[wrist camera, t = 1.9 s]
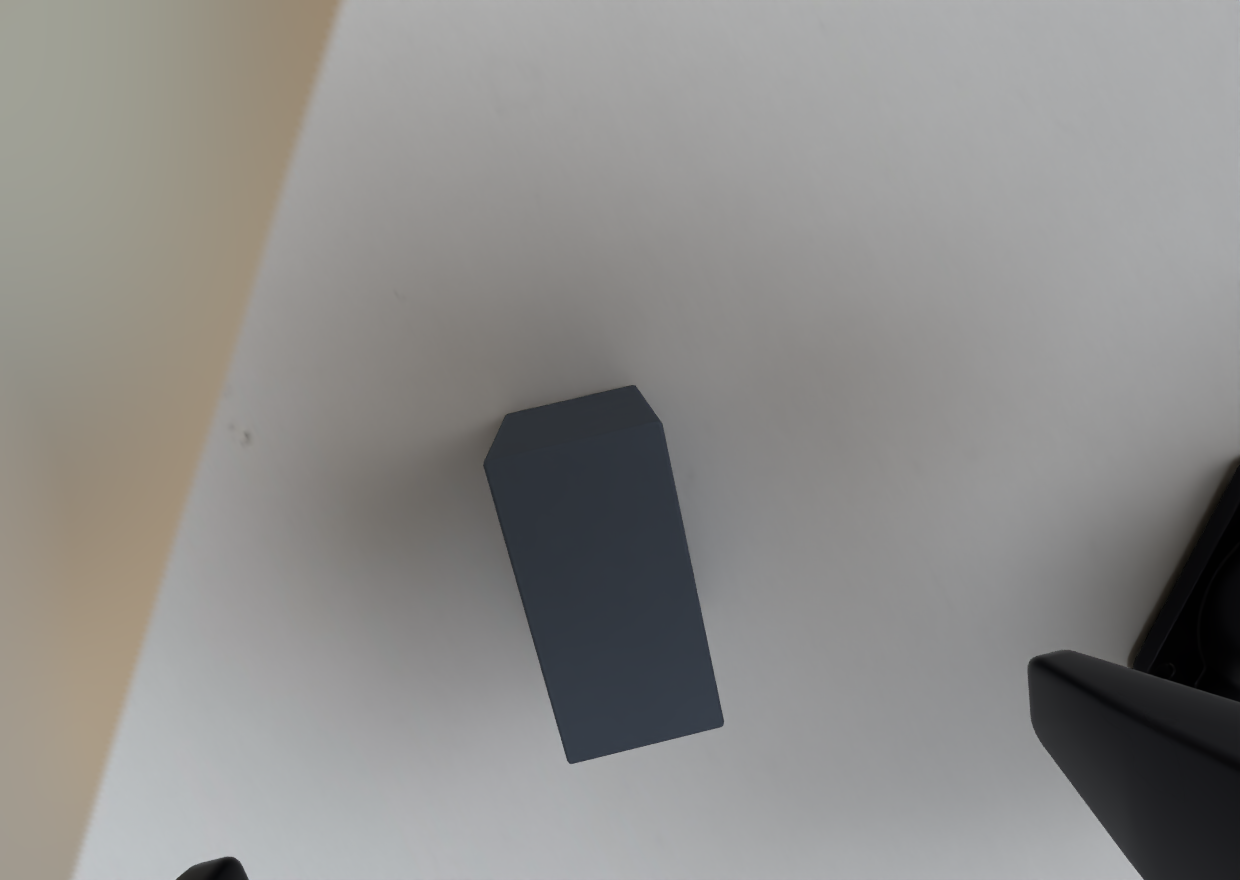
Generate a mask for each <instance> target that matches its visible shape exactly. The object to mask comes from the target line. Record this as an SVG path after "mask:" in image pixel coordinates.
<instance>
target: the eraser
mask: <svg viewBox="0 0 1240 880" xmlns="http://www.w3.org/2000/svg"><path fill="white" fill-rule="evenodd" d="M483 466H484V469H485V473H486V476H487V480H488V483H489V487H490V490H491V494H492V497H493V501H494V504H495V508H496V512H497V515H498V519H499V522H500V526H501V529H502V533H503V536H504V540H505V543H506V547H507V550H508V554H509V557H510V561H511V564H512V568H513V571H514V575H515V578H516V582H517V585H518V589H519V592H520V596H521V599H522V603H523V607H524V610H525V614H526V617H527V621H528V624H529V628H530V631H531V635H532V638H533V642H534V645H535V649H536V652H537V656H538V659H539V663H540V666H541V670H542V673H543V677H544V680H545V684H546V687H547V691H548V695H549V698H550V702H551V705H552V709H553V712H554V716H555V719H556V723H557V726H558V730H559V733H560V737H561V740H562V744H563V747H564V751H565V754H566V758H567V761H568V762H569V764H574V763H578V762H582V761H586V760H590V759H594V758H598V757H602V756H606V755H610V754H614V753H618V752H622V751H626V750H630V749H634V748H638V747H642V746H646V745H650V744H655V743H659V742H663V741H667V740H671V739H675V738H679V737H683V736H687V735H691V734H695V733H699V732H703V731H707V730H711V729H715V728H719V727H722V726H723V724H724V719H723V714H722V710H721V705H720V700H719V695H718V690H717V685H716V681H715V676H714V671H713V666H712V661H711V657H710V652H709V647H708V642H707V637H706V632H705V628H704V623H703V618H702V613H701V608H700V603H699V599H698V594H697V589H696V584H695V579H694V574H693V570H692V565H691V560H690V555H689V550H688V545H687V541H686V536H685V531H684V526H683V521H682V517H681V512H680V507H679V502H678V497H677V492H676V488H675V483H674V478H673V473H672V468H671V463H670V459H669V454H668V449H667V444H666V439H665V434H664V430H663V425H662V423H661V421H660V420H659V418H658V417H657V415H656V414H655V413H654V411H653V410H652V408H651V407H650V406H649V404H648V403H647V401H646V400H645V398H644V397H643V396H642V394H641V393H640V391H639V390H638V389H637V387H636V386H635V385H631V386H627V387H623V388H618V389H614V390H610V391H605V392H601V393H597V394H592V395H588V396H584V397H579V398H575V399H571V400H566V401H562V402H558V403H553V404H549V405H545V406H540V407H536V408H532V409H527V410H523V411H519V412H514V413H510V414H507V415H506V416H505V418H504V420H503V422H502V424H501V426H500V428H499V431H498V433H497V435H496V437H495V439H494V441H493V443H492V445H491V448H490V450H489V452H488V454H487V456H486V458H485V460H484V464H483Z"/></svg>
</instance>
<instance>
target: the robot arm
mask: <svg viewBox="0 0 1240 880" xmlns="http://www.w3.org/2000/svg"><path fill="white" fill-rule="evenodd" d="M1028 686H1029V700H1030V715H1031V721H1032V725H1033V728H1034V730H1035V733H1036V735H1037V737H1038V738H1039V740H1040V742H1041V743H1042V745H1043V746H1044V747H1045V749H1046V750H1047V751H1048V753H1049V754H1050V755H1051V757H1052V758H1053V759H1054V761H1055V762H1056V763H1057V765H1058V766H1059V767H1060V769H1061V770H1062V772H1063V773H1064V774H1065V776H1066V777H1067V778H1068V780H1069V781H1070V782H1071V784H1072V785H1073V786H1074V788H1075V789H1076V790H1077V792H1078V793H1079V794H1080V796H1081V797H1082V798H1083V800H1084V801H1085V802H1086V804H1087V805H1088V806H1089V808H1090V809H1091V810H1092V812H1093V813H1094V814H1095V816H1096V817H1097V819H1098V820H1099V821H1100V823H1101V824H1102V825H1103V827H1104V828H1105V829H1106V831H1107V832H1108V833H1109V835H1110V836H1111V837H1112V839H1113V840H1114V841H1115V843H1116V844H1117V845H1118V847H1119V848H1120V849H1121V851H1122V852H1123V853H1124V855H1125V856H1126V857H1127V859H1128V860H1129V861H1130V862H1131V864H1132V865H1133V866H1134V868H1135V869H1136V870H1137V871H1138V873H1139V874H1140V875H1141V877H1142V878H1143V879H1144V880H1240V466H1239V467H1238V468H1237V470H1236V472H1235V474H1234V476H1233V478H1232V480H1231V482H1230V483H1229V485H1228V487H1227V489H1226V491H1225V493H1224V495H1223V496H1222V498H1221V500H1220V502H1219V504H1218V506H1217V508H1216V510H1215V511H1214V513H1213V515H1212V517H1211V519H1210V521H1209V523H1208V525H1207V526H1206V528H1205V530H1204V532H1203V534H1202V536H1201V538H1200V540H1199V541H1198V543H1197V545H1196V547H1195V549H1194V551H1193V553H1192V555H1191V556H1190V558H1189V560H1188V562H1187V564H1186V566H1185V568H1184V569H1183V571H1182V573H1181V575H1180V577H1179V579H1178V581H1177V583H1176V584H1175V586H1174V588H1173V590H1172V592H1171V594H1170V596H1169V598H1168V599H1167V601H1166V603H1165V605H1164V607H1163V609H1162V611H1161V613H1160V614H1159V616H1158V618H1157V620H1156V622H1155V624H1154V626H1153V627H1152V629H1151V631H1150V633H1149V635H1148V637H1147V639H1146V641H1145V642H1144V644H1143V646H1142V648H1141V650H1140V652H1139V654H1138V656H1137V657H1136V659H1135V662H1134V665H1133V669H1130V668H1127V667H1124V666H1120V665H1117V664H1114V663H1111V662H1107V661H1104V660H1101V659H1098V658H1095V657H1091V656H1088V655H1085V654H1082V653H1078V652H1075V651H1071V650H1059V651H1055V652H1051V653H1047V654H1043V655H1039V656H1036V657H1034V658H1032V659H1031V660H1030V662H1029V664H1028ZM176 880H249V879H248V877H247V875H246V873H245V871H244V868H243V866H242V864H241V863H240V861H238V860H237V859H236V858H234V857H223V858H219V859H215V860H211V861H207V862H203V863H199V864H197V865H194V866H192V867H191V868H189V869H188V870H187V871H185V872H184V873H183V874H182V875H181V876H180V877H178V878H177V879H176Z"/></svg>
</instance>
